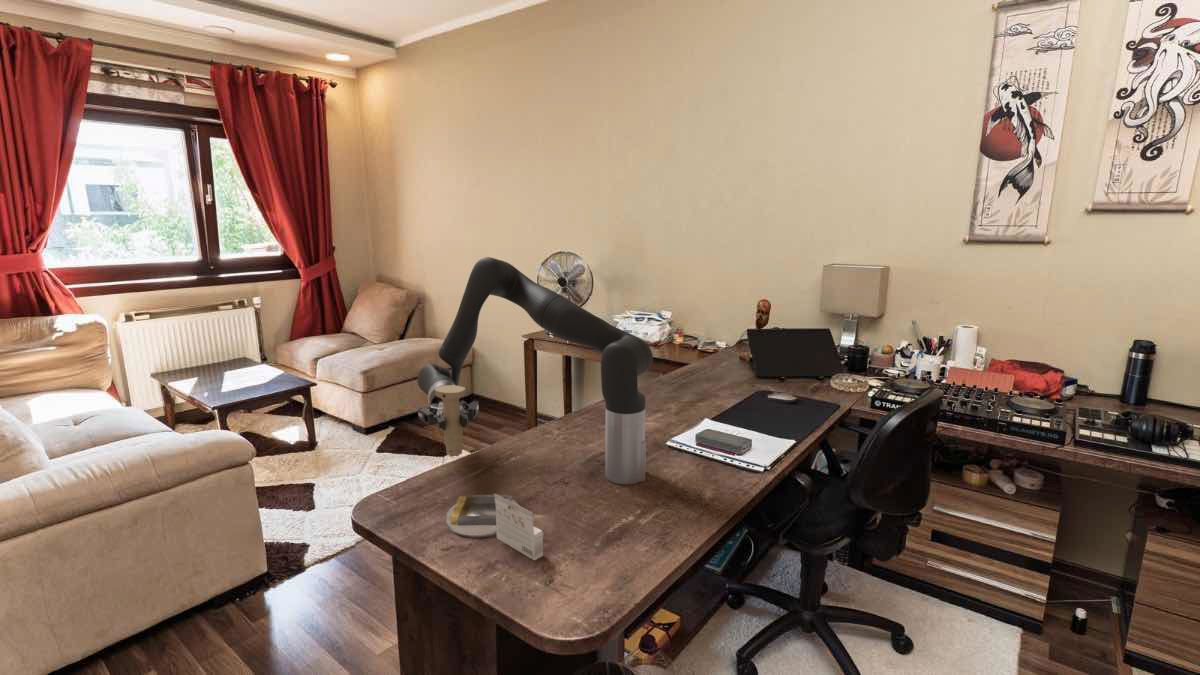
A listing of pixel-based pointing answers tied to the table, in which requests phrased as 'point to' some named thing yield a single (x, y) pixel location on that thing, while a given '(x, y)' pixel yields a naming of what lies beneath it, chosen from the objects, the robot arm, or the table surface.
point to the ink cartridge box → (518, 528)
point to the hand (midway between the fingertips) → (453, 424)
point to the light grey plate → (475, 515)
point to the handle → (452, 417)
